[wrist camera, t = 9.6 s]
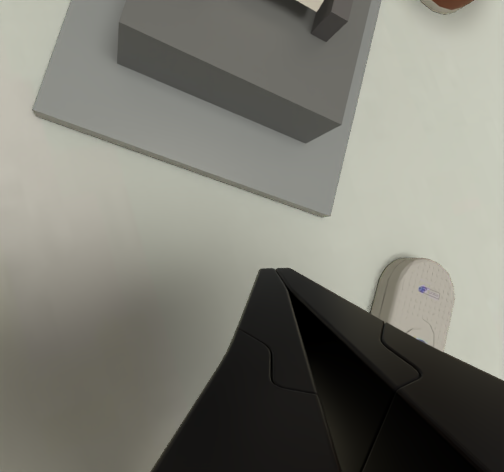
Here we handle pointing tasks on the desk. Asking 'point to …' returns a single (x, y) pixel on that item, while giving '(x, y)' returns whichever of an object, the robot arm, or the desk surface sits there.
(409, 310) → the electronic device
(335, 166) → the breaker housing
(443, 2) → the coffee cup
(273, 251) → the desk surface
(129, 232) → the desk surface
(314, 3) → the lever
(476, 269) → the desk surface
